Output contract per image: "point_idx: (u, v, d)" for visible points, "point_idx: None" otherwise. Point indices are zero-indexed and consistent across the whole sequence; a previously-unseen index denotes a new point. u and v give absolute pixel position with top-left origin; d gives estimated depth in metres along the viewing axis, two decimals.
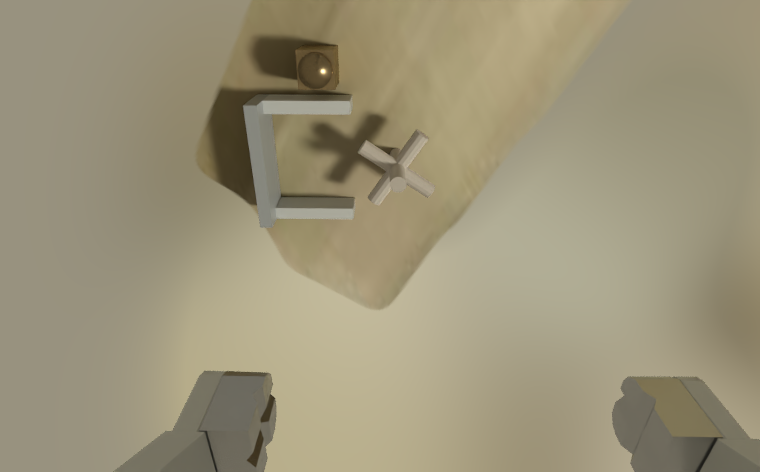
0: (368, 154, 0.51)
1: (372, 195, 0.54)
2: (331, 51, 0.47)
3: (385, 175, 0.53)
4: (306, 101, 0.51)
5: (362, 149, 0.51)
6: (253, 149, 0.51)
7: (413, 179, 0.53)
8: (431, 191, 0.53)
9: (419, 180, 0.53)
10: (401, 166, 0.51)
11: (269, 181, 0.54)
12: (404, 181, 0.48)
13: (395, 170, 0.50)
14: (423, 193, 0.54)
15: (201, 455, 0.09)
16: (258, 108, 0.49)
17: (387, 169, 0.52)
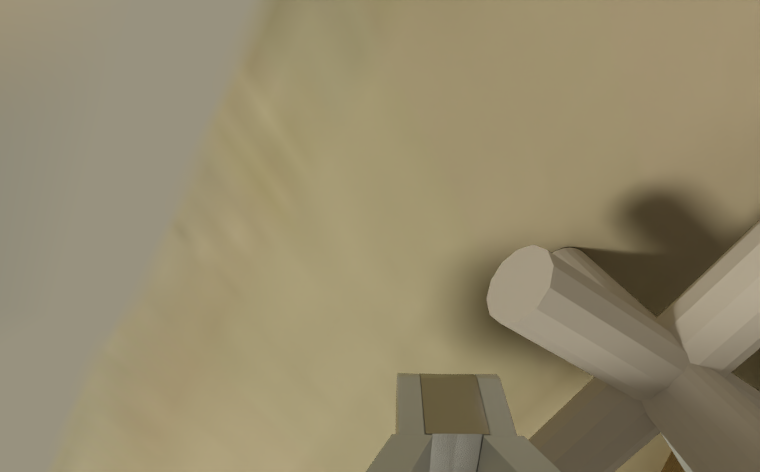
0: None
1: None
2: None
3: None
4: None
5: None
6: None
7: (620, 374, 0.10)
8: (532, 320, 0.09)
9: (585, 362, 0.10)
10: None
11: None
12: None
13: None
14: (577, 300, 0.09)
15: (426, 458, 0.08)
16: None
17: None
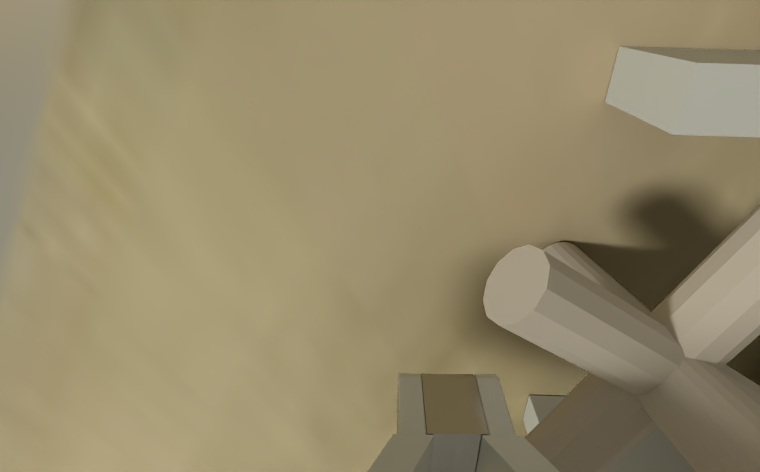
0: None
1: None
2: None
3: None
4: None
5: None
6: None
7: (617, 370, 0.10)
8: (529, 321, 0.09)
9: (582, 360, 0.10)
10: None
11: None
12: None
13: None
14: (574, 300, 0.09)
15: (428, 458, 0.08)
16: None
17: None
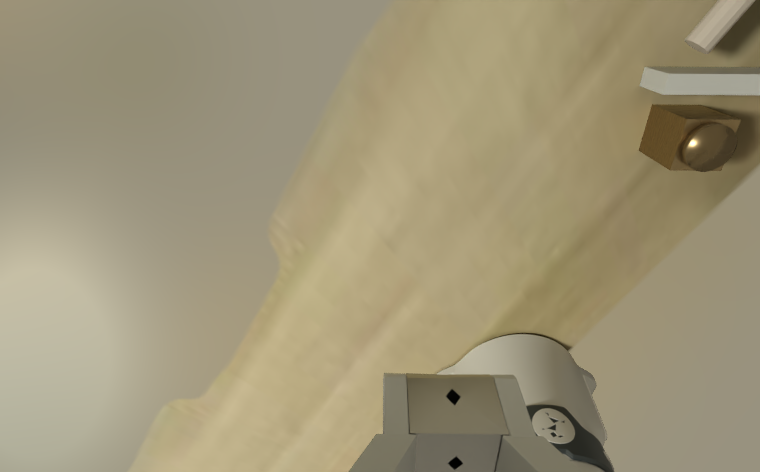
0: None
1: None
2: (672, 168, 0.35)
3: None
4: (728, 93, 0.34)
5: None
6: None
7: None
8: None
9: None
10: None
11: None
12: None
13: None
14: None
15: (410, 458, 0.08)
16: None
17: None
